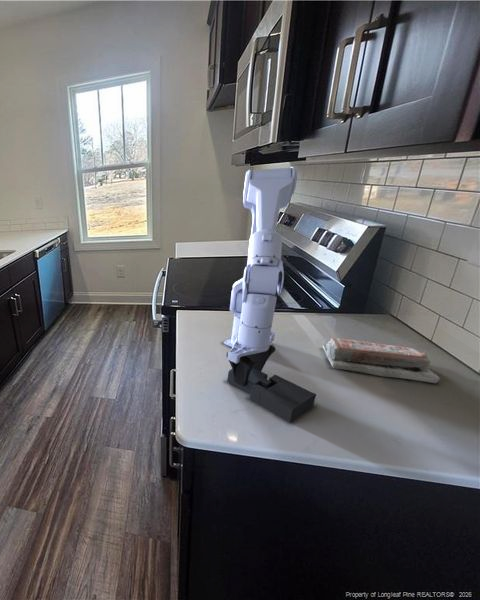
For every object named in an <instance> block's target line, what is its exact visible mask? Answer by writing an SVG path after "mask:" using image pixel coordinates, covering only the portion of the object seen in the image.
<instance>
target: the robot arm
mask: <svg viewBox="0 0 480 600" xmlns="http://www.w3.org/2000/svg"><path fill="white" fill-rule="evenodd" d="M297 182H298V168H297V167H295V166H291V167H280V168H265V169H263V168H262V169H253V170H252V169H248V170H247V171H246V172H245V177H244V187H243V195H242V197H243V200H242V203H243V208H245V209H247V210H249V211H250V212H251V216H252V217H251V218H252V224H251V232H250V237H249V241H248V252H247V262H246V266H245V268H244V271H243V276H242V278H240V279H238V280H237V281H235V282H234V283H233V284H232V290H231V295H230V304H229V311H230V313H233V323H232V330H231V338H229V339H226V340H224V341H223V344H224V345H226V346H229V347H231V349H230V350H228V351H227V352H226V358H227V359H226V360H227V361H228V362H229V364H230V367H231V369H232V370H233V375H234V381H235V383H237V384H239V385H241V386H245V385H246V383H247V381H248V378H249V374H250V372H251V370H252V368H254V369H256V370H258V371H261V372H263V369H264V367H265V366H266V363H267V361H268V360H269V358H271V356H272V355H273V354H274V353H275V352H276V347H275V346H273V343H272V342H274V341H275V335H276V332H274V331H272V327H273V321H274V315H275V310H276V305H277V297H279V296H280V295H281V292H282V290H283V286H284V280H285V271H284V261H283V260H282V251H283V250H282V249H283V236H282V234H281V233H280V232H278V231H277V226H278V221H279V215H280V209H284V208H286V207H288V205H289V203H290V202H291V200H292V197H293V195H294V193H295V190H296V186H297Z"/></svg>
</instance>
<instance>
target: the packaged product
mask: <svg viewBox="0 0 480 600" xmlns="http://www.w3.org/2000/svg"><path fill="white" fill-rule="evenodd" d="M322 349H323V351H324V353H325V355H326V357H327V360H328V362H329V363H330V365H331V367H332V369H336V370H337V369H338V370H345V371H351V372H357V373H363V374H370V375H373V376H379V377H383V378H384V377H386V378H397V379H398V378H399V379H405V380H411V381H417V382H423V383H430V384H437V383H438V382H439V381H440V376H438V375H437V374H436V373H434V372H433V371H432V370H431V369H430V368H429V366H430V364H431V361H430V359H429V358H428V356H427V354H426V353H425V352H422V351H420V350H418V349H415V348H412V347H408V346H407V347H406V346H401V345H391V344H384V343H377V342H376V343H375V342H369V341H362V340H353V339H346V338H338V337H337V338H336V337H332V338H330V340H329V341H328V342H327V343H326V344H322Z"/></svg>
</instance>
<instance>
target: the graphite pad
mask: <svg viewBox="0 0 480 600" xmlns="http://www.w3.org/2000/svg"><path fill="white" fill-rule="evenodd" d="M268 376H269V374H267V373H265V372H263V371H258V370H256V369H254V368H252V370H251V372H250V374H249V378H248V381H247V383H246V385H245V386H241V385H239V384H237V383H235V381H234V375H233V370H232V368H231V369H229V370H228V372H227V380H226V382H227V383H228V384H230V385H231V386H234V387H236V388H238V389H240V390H242V391H244V392H246V393H248V394H250V395H251V389H252V387H254V386H255V385H257V384H258V385H260V386H262V387H264V388H266V389H269V388H270V387H271V383H272V381H270V380H269V379H268Z"/></svg>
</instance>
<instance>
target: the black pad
mask: <svg viewBox="0 0 480 600" xmlns="http://www.w3.org/2000/svg"><path fill="white" fill-rule="evenodd" d="M268 380H270V381H272V383H271V387H270V388H269V389H266V388H264V387H262V386H260V385H258V384H257V385H255V386H254V387H252V389H251V394H250V397H249V401H252V402H254V404H257V405H258V406H260V407H262V408H263V409H265V410H267V411H268V412H271V413H272V414H274V415H276V416H277V417H279V418H281V419H282V420H284V421H285V422H287V423H289V424H291V423H292V422H293V421H295V420H296V419H298V417H301V416H302V415H304V414H305V413H307V411H309V410H310V409H312V408H313V407H314V404H315V401H316V397H317V394H316V393H315V392H313V391H310V390H308V389H306V388H305V387H302V386H300V385H297V384H296V383H294V382H292V381H289V380H287V379H285V378H283V377H282V376H279V375H277V374H273V375H272V376H269V379H268Z"/></svg>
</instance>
